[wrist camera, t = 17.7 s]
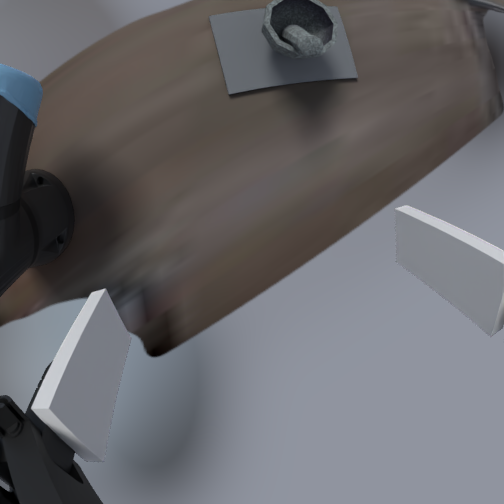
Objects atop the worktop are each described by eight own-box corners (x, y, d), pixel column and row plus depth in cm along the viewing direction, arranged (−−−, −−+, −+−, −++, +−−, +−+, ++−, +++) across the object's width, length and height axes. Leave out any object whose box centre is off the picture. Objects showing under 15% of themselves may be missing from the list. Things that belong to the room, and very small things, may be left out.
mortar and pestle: (259, 6, 31) (280, -33, 20) (320, 20, 32) (357, -10, 21) (249, 70, 34) (268, 44, 23) (313, 82, 36) (352, 66, 25)
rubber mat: (228, 94, 36) (228, 94, 35) (208, 17, 31) (209, 16, 30) (356, 78, 37) (357, 77, 37) (335, 7, 32) (337, 6, 32)
